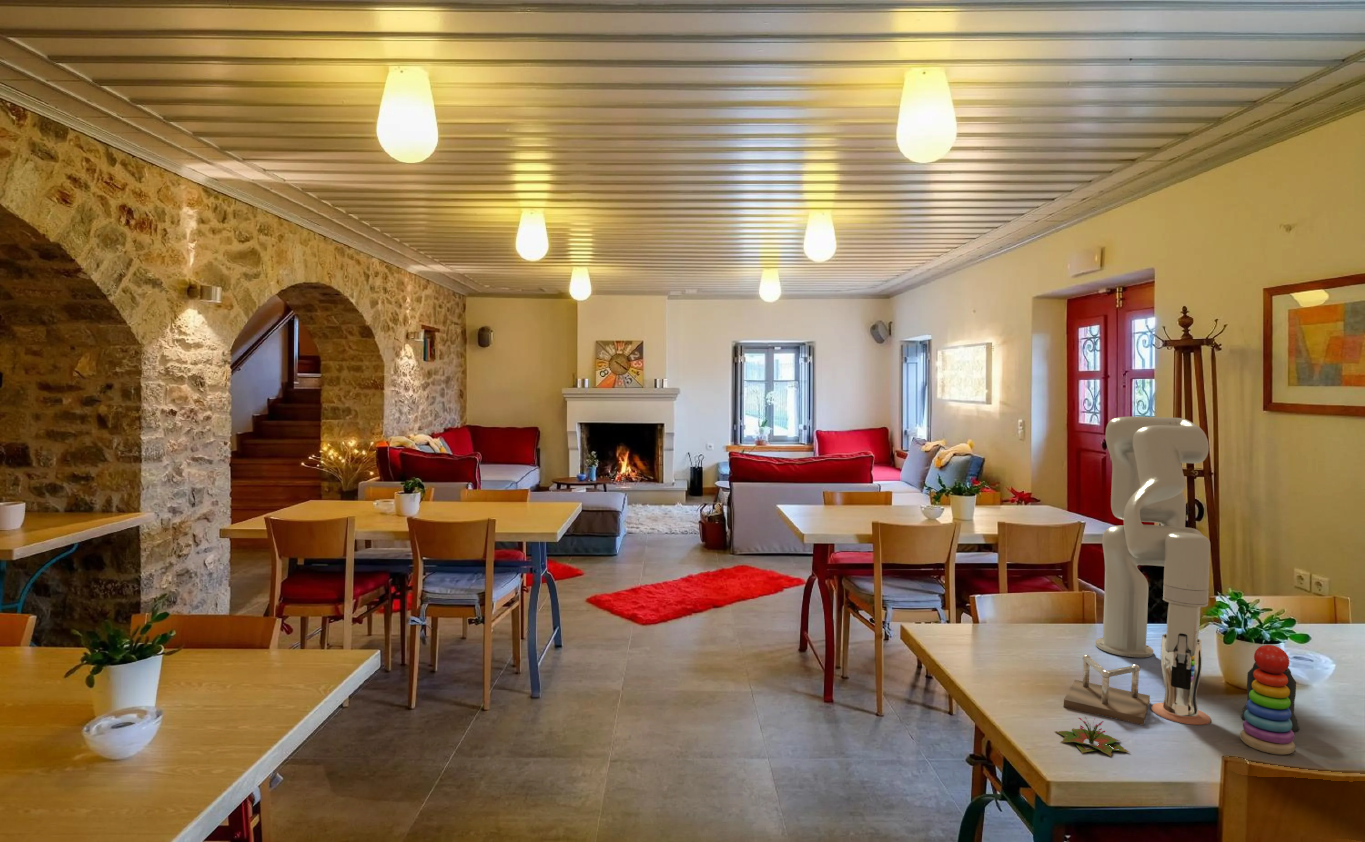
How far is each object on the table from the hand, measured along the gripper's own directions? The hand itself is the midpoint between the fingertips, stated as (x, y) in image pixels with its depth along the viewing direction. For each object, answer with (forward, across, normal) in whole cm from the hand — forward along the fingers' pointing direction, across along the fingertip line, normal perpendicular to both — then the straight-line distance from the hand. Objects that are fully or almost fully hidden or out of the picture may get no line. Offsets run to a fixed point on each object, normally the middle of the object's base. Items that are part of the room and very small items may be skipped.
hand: (1181, 680), depth 151 cm
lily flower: (+8, +26, -13) cm, 30 cm away
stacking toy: (+7, +7, +14) cm, 17 cm away
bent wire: (+5, +4, -12) cm, 14 cm away
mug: (+7, -8, +14) cm, 18 cm away
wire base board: (+7, +3, -12) cm, 15 cm away
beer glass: (+7, 0, 0) cm, 7 cm away
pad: (+7, 0, 0) cm, 7 cm away
